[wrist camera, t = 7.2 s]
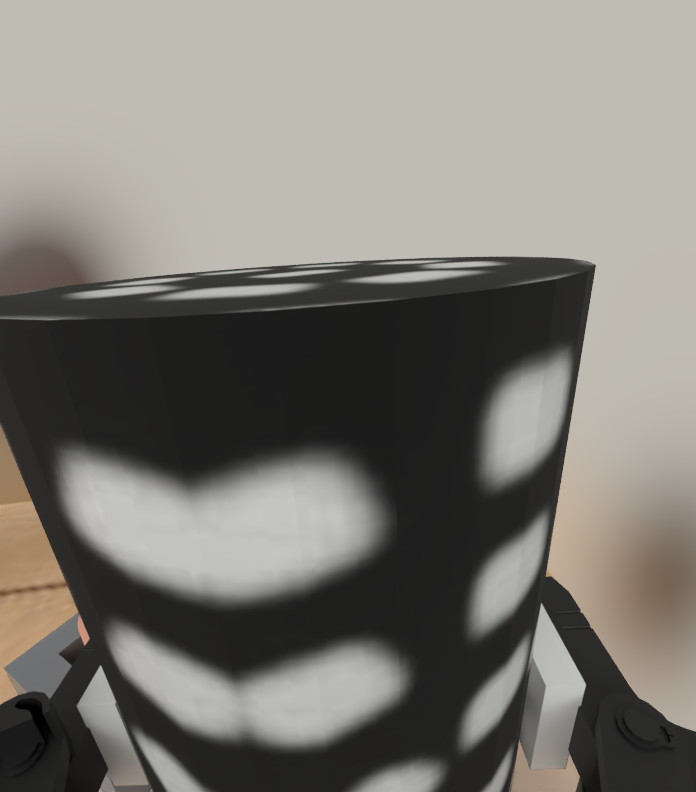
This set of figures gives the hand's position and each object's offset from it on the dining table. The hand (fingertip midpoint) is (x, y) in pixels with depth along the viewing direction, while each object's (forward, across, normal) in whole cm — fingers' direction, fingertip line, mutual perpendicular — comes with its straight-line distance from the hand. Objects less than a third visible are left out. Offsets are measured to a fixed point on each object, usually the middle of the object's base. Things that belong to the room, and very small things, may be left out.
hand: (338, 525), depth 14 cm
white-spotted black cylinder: (-5, 0, -11) cm, 12 cm away
